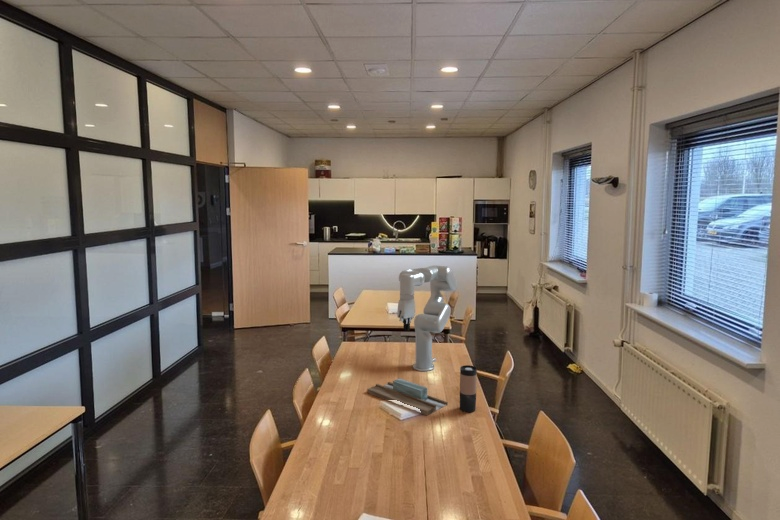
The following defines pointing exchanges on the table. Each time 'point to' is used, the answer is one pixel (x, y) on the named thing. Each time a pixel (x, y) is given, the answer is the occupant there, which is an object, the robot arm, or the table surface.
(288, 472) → the table surface
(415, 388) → the teal rectangular block
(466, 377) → the travel mug
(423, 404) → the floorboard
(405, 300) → the robot arm
